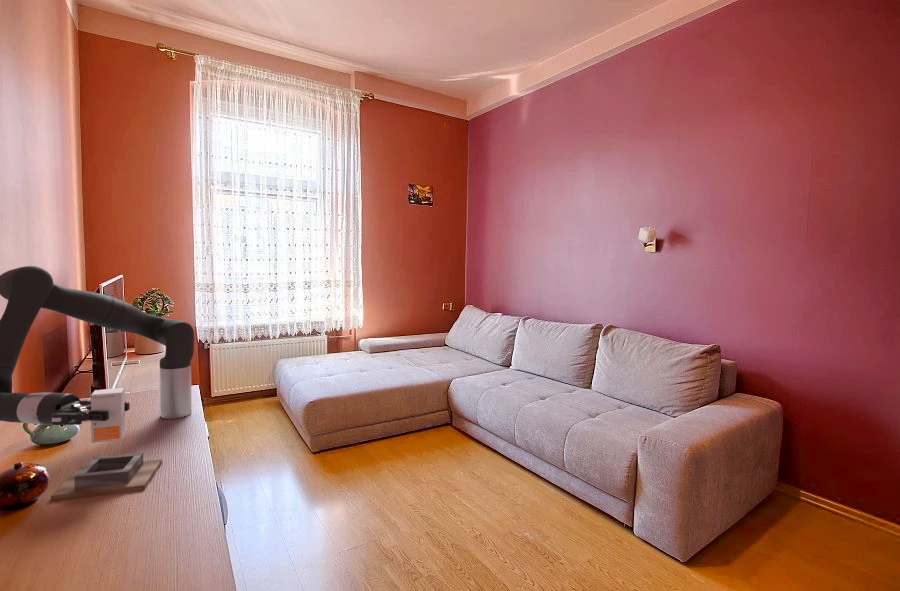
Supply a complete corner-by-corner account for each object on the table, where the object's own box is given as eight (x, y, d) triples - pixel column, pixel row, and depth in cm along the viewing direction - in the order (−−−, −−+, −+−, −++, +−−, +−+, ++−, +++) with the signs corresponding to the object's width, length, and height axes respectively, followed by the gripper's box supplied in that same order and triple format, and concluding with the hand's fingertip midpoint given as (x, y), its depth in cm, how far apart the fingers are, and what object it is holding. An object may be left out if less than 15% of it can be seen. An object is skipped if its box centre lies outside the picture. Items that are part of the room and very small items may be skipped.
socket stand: (80, 471, 112) (79, 455, 112) (161, 463, 118) (161, 448, 117) (50, 500, 99) (50, 482, 98) (144, 489, 105) (144, 472, 104)
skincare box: (90, 444, 104) (89, 394, 103) (95, 437, 108) (94, 389, 107) (122, 440, 107) (121, 392, 106) (125, 433, 111) (125, 387, 110)
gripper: (19, 403, 99) (94, 405, 99) (73, 385, 114) (139, 387, 114) (21, 435, 100) (95, 438, 100) (74, 413, 114) (139, 415, 114)
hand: (118, 411), depth 107 cm, fingers closed on skincare box, 6 cm apart
